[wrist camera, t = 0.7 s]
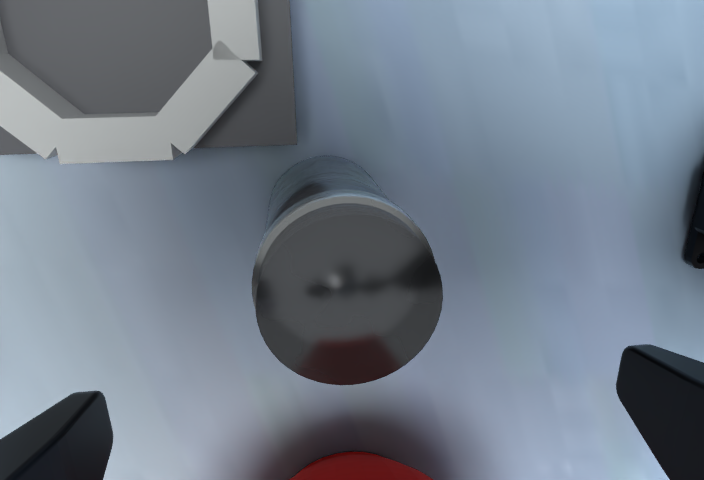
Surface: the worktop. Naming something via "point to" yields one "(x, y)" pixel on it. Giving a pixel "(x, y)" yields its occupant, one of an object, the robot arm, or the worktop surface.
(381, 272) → the lens
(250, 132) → the camera body mount
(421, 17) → the worktop surface
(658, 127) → the worktop surface
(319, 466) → the ceramic cup
